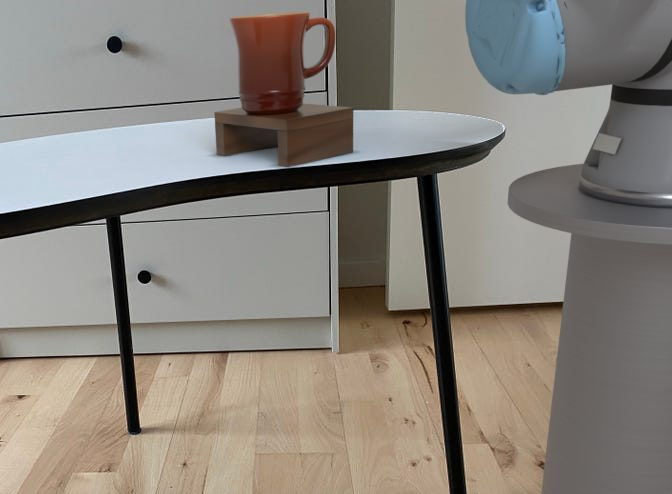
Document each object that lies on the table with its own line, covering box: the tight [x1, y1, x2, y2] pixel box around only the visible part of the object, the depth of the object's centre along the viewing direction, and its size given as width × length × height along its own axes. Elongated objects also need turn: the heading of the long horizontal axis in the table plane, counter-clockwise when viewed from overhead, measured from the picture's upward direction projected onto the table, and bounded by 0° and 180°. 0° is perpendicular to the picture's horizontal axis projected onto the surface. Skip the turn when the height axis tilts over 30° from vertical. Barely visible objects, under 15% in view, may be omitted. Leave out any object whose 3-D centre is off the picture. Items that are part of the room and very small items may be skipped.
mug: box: [229, 11, 336, 115], centre depth 94 cm, size 12×9×10 cm
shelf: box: [214, 103, 354, 168], centre depth 97 cm, size 13×10×5 cm
